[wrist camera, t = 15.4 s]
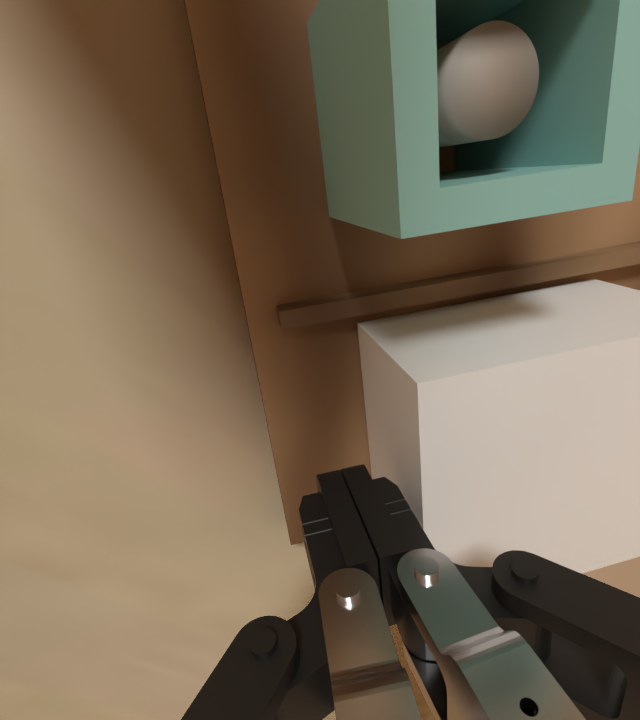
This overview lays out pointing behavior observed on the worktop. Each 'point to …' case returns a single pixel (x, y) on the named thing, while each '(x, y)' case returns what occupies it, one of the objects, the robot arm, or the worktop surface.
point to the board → (358, 244)
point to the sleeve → (482, 158)
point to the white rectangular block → (513, 422)
